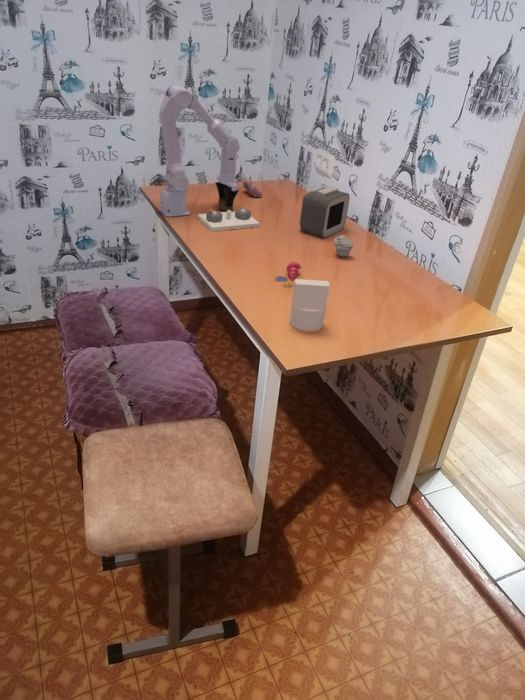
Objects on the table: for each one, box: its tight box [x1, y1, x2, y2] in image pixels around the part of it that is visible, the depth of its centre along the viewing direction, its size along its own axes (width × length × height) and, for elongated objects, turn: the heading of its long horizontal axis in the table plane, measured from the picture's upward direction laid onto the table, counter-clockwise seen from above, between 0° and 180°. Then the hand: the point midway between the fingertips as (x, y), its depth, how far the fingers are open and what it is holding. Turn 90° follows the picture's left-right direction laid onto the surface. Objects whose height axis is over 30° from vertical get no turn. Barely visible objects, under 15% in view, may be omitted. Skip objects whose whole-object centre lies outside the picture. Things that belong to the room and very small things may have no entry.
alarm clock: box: [299, 185, 350, 239], centre depth 210 cm, size 16×11×16 cm
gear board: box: [197, 207, 261, 233], centre depth 210 cm, size 19×14×6 cm
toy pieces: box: [274, 261, 302, 289], centre depth 173 cm, size 12×11×4 cm
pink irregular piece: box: [242, 179, 263, 198], centre depth 241 cm, size 10×5×7 cm, turn 25°
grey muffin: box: [333, 234, 354, 258], centre depth 193 cm, size 6×7×7 cm
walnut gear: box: [218, 198, 234, 211], centre depth 222 cm, size 6×6×3 cm
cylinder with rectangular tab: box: [289, 278, 330, 332], centre depth 150 cm, size 9×9×12 cm
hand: (225, 203), depth 222 cm, fingers closed on walnut gear, 6 cm apart
